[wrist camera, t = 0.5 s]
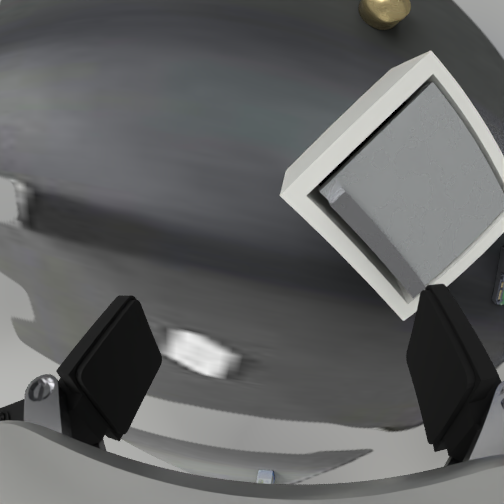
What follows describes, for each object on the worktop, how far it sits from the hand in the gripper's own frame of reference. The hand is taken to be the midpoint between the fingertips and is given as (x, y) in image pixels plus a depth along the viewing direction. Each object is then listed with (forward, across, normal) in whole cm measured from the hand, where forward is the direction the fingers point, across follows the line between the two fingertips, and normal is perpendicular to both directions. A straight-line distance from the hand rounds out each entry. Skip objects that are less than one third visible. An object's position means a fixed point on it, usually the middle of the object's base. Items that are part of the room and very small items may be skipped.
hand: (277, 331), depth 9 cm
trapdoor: (+17, -12, 0) cm, 21 cm away
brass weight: (+28, -13, -20) cm, 37 cm away
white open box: (+28, -12, 0) cm, 31 cm away
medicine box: (+28, +12, +86) cm, 91 cm away
